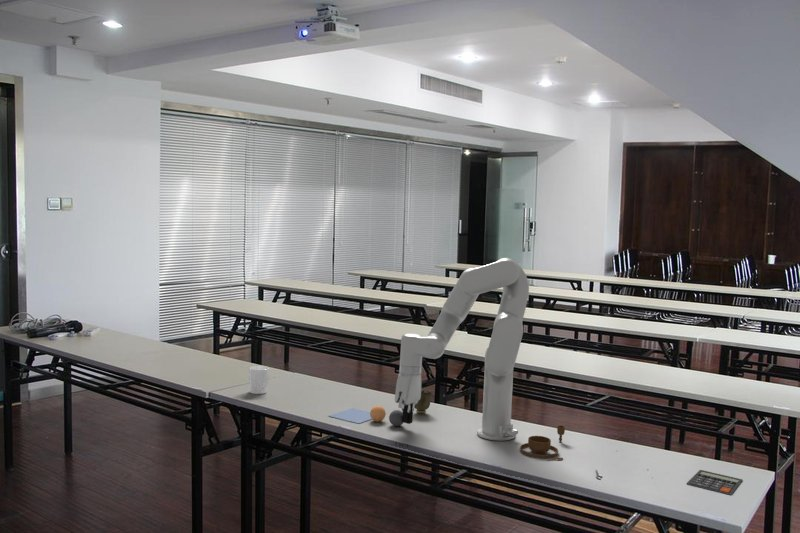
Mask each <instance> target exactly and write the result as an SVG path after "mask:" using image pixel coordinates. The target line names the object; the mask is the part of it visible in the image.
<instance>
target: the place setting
mask: <svg viewBox="0 0 800 533" xmlns="http://www.w3.org/2000/svg"><path fill="white" fill-rule="evenodd" d="M565 431H566V427H565V426H564V425H557V426H556V432H557V434H558V436H559V438H558V443H559V444H562V443H563V435H565ZM527 440H528V442H527V443H522V444H520V446H519V450H520V452H521V453H522V454H523V455H525V456H528V457H531V458H535V459H548V460H546V461H547V462H553V461H555V462H556V461H557V462H559V461H563V460H564V458H563V457H557V455H559V449H558V448H557V447H556V446H553V445H551V442H552V441H551V440H552V439H550V438H549V437H547V436H543V435H531V436H529V437H528V439H527ZM527 448H529V450H530V451H532V452H529V451H526V450H524V449H527ZM549 451H552V452H553V453H552V454H546V453H547V452H549ZM555 457H556V458H555ZM552 458H553V459H552Z"/></svg>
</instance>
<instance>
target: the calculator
mask: <svg viewBox="0 0 800 533" xmlns="http://www.w3.org/2000/svg"><path fill="white" fill-rule="evenodd" d="M742 482H743V479H742V478H737V477H733V476H729V475H724V474H721V473H717V472H712V471H707V470H702V469H699V470H698V471H697V472H696V473H695V474H694V475H693V476H692V477H691V478H690V479H689V480H688V481H687V482H686V485H687V486H691V487H695V488H699V489H703V490H707V491H710V492H711V491H712V492H716V493H719V494H724V495H728V496H732V495H733V494H734V493H735V492H736V489H737V488H739V486H740V485H741V484H742Z"/></svg>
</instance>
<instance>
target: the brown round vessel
mask: <svg viewBox="0 0 800 533" xmlns="http://www.w3.org/2000/svg"><path fill="white" fill-rule="evenodd" d="M432 395H433V393H432V391H429V390H427V392H425V390H424V389H422V390H421V398H420V400H419V401H418V403H417V404H416V405H415V407H414V410H416V411H415V412H416V414H418V415H425V414H426V413H427V410H429V407H430V405H431V401H432Z"/></svg>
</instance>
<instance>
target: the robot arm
mask: <svg viewBox="0 0 800 533" xmlns="http://www.w3.org/2000/svg"><path fill="white" fill-rule="evenodd" d="M501 288H502V295H501V298H500V304H499V307H498V310H497V314H496V317H495V319H494V322H493V326H492V327H493V328H492V333H491V337H490V339H489V340H490V341H489V343H488V344H489V345H488V347H487V348H486V350H485V354H484V378H483V396H482V397H483V400H482V416H481V417H482V418H481V419H482V420H481V427H480V428H477V431H476V434H477V436H478V437H480V438H481V439H482V438H483V439H484V440H485V439H486V440H490V441H499V442H500V441H501V442H502V441H510V440H513V439H514V438H516V436H517V435H518V434H519V431H518V430H517V429H514V423H513V424H512V402H513V401H512V400H513V383H514V382H513V381H514V367H515V365H516V364H515V363H516V361H517V358H518V357H517V356H518V354H519V350H520V346H521V343H522V342H521V341H522V340H523V339H522V338H523V335H524V326H523V320H524V317H525V313H526V308H527V303H528V299H529V294H530V286H529V280H528V277H527V274H526V272H525V270H524V269H523V268H522V267H521V266H520V265H519V264H518V263H517V261H515V260H514V259H512V258H510V257H501V258H500V259H498V260H497V261H494V262H491V263H488V264H486V265H482V266H479V267H475V268H474V267H470V268H467V269H465V270H463V272H462V273H461V275H460V276H459V278H458V279H457V281H456V284H455V285H454V287H453V288H452V290H451V292H449V295H448V296H447V299H446V300H445V302H444V304H443V306H442V307H441V310H440V314H439V316H437V319H436V321H435V323H434V325H433V326H432V328H431V329H430V331H429V332H428V334H427V336H423V335H421V334H419V333H413V332H408V333H404V334H402V336H401V340H400V356H399V369H398V370H399V372H398V375H397V379H396V385H395V394H394V402H395V403H396V404H398V408H399V409H401V412H403V416H402V422H403V424H404V423H405V424H408V425H410V424H413V416H414V411H415V408H414V407H415V405H416V404H417V403H418V401H419V400H420V398H421V391H422V366H423V358H427V359H433V360H436V359H439V358H441V357H442V356H443V354H444V352H445V350H446V348H447V346H448V344H449V342H450V341H451V339H452V337H453V335H454V334H455V332H456V330H457V329H458V328H459V326H460V324H462V322H463V321H464V320H465V319H466V318H467V316H468V314H469V313H470V310H471V309H472V307H473V305H474V304H475V302H476V300H477V299H478V297H479V295H481V294H485V293H488V292H491V291H494V290H495V291H496V290H497V289H501Z"/></svg>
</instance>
